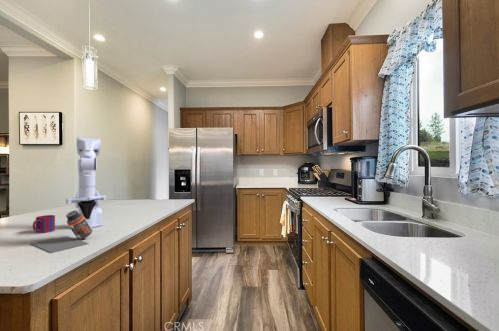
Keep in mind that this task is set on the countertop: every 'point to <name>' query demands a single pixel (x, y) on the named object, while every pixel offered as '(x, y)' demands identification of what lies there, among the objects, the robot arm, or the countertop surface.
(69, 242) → the mat
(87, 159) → the robot arm
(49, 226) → the mug
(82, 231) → the supplement bottle
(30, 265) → the countertop surface
